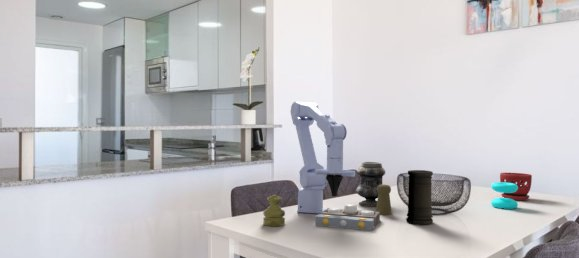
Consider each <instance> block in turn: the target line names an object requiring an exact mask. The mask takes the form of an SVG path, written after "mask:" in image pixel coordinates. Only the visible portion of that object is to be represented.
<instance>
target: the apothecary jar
mask: <svg viewBox="0 0 579 258" xmlns="http://www.w3.org/2000/svg"><path fill="white" fill-rule="evenodd" d="M382 164H383V163H382V162H379V161H361V164H360V166H359V167H358V168H357V170H356V172H357V174H358V175H359V185H358V186H357V188H356V189H355V191H356V195H358V196H360V197H362V198H363V199H365V200H362V201H360V202H359V203H358V205H360V206H364V207H377V199H378V192H377V187H378V186H379V185H383V176H385V174H386V170H385V168H384V167H383V165H382Z"/></svg>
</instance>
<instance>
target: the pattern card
mask: <svg viewBox="0 0 579 258" xmlns="http://www.w3.org/2000/svg"><path fill="white" fill-rule="evenodd" d="M315 226H318V227H320V226H321V227H329V228H330V227H331V228H342V229H343V228H344V229H351V230H352V229H353V230H362V231H363V230H364V231H365V230H366V231H373V230H374V229H375V226H374V219H372V218H360V217H348V216H336V215H323V214H317V215H315Z"/></svg>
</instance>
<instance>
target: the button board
mask: <svg viewBox="0 0 579 258" xmlns="http://www.w3.org/2000/svg"><path fill="white" fill-rule="evenodd" d="M329 208H330V207H327V208H325V209H326V210H324V211H323V212H321V214H323V215H336V216H348V217H360V218H372V219H374V227H376V226H377V225H378V223H379V222H380V221H381V216H380V212H376V211H373V210H372V211H373V212H374V216H370V215H361V211H362V210H360V209H357V214H345V213H344V208H339V209H340V213H332V212H328V209H329Z"/></svg>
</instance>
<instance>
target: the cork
mask: <svg viewBox="0 0 579 258" xmlns="http://www.w3.org/2000/svg"><path fill="white" fill-rule="evenodd" d="M391 191H392V188H391V186H390V185H388V184H382V185H379V186H378V187H377V192H378V198H377V199H376V201H377V206H375V207H376V208H375V212H380V215H381V216H390V215H392V214H393V213H392V206H391V197H390V193H391Z"/></svg>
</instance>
